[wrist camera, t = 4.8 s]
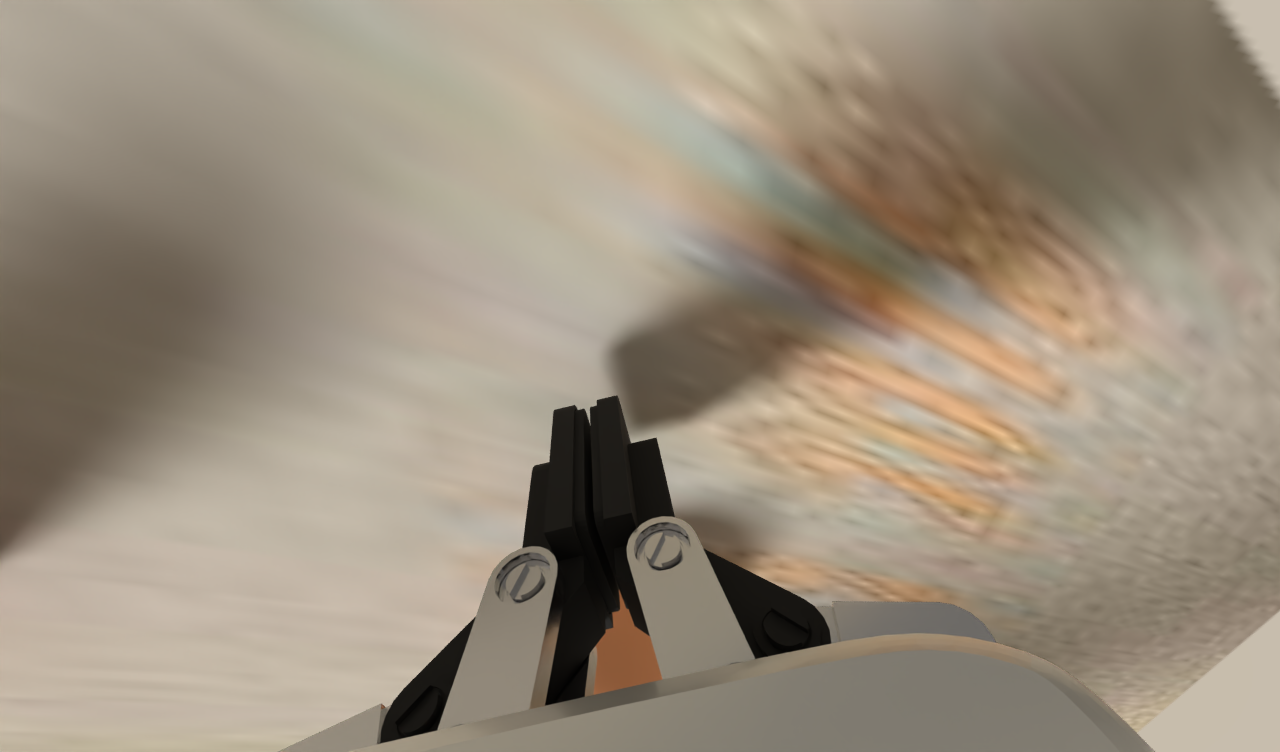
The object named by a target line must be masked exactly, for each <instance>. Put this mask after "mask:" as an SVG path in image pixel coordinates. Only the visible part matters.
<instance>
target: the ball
mask: <svg viewBox="0 0 1280 752" xmlns="http://www.w3.org/2000/svg"><path fill="white" fill-rule="evenodd" d="M619 597H620V611H616V612H612V613H613V628H611V629H606V633H605V634H604V636H603V637H602V638H601V640H600V641H599V642H598V643H597V645H596V648H597V667H596V676H595V685H594V695H596V694H600V693H604V692H609V691H613V690H618V689H622V688H627V687H631V686H636V685H640V684H645V683H649V682H654V681H658V680H663V679H662V676H661V672H660V669H659V665H658V662H657V659H656V655H655V652H654V648H653V645H652V641H651V638H650V636H648V635H647V634H645V633H644V632H642V631H641V630H640V629H638V628H637V627H635V626H634V623H633V620H632V617H631V615H630V612H629V609H626V606H625V604H624V601H623V598H622V596H621V593H620V590H619Z"/></svg>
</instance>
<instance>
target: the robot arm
mask: <svg viewBox="0 0 1280 752" xmlns="http://www.w3.org/2000/svg"><path fill="white" fill-rule="evenodd" d="M590 423H591V426H590ZM590 423H589V420H588V417H587V414H586V411H585V409H581V410H577V407H576V406H575V405H573V406H569V407H565V408H560V409H556V410H554V413H553V425H552V438H551V450H550V462H548V463H544V464H540V465H535V466H534V467H533V470H532V476H531V484H530V492H529V500H528V508H527V516H526V524H525V532H524V540H523V548H521V549H519V550H517V551H515V552H513V553H511V554H509V555H508V556H507V557H505V558H504V559H503V560H502V561H501V562H500V563H499V564H498V565H497V566H496V568H495V569H494V570H493V572H492V574H491V576H490V578H489V580H488V583H487V586H486V589H485V592H484V595H483V597H482V600H481V603H480V606H479V609H478V612H477V615H476V617H475V618H474V619H473V620H472V621H471V622H470V623H469V624H468V625H467V626H466V627H465V628H464V629H463V630H462V631H461V632H460V633H459V634H458V635H457V636H456V637H455V638H454V639H453V640H452V641H451V642H450V643H449V644H448V645H447V646H446V647H445V648H444V649H443V650H442V651H441V652H440V653H439V654H438V655H437V656H436V657H435V658H434V659H433V660H432V661H431V662H430V663H429V664H428V665H427V666H426V667H425V668H424V669H423V670H422V671H421V672H420V673H419V674H418V675H417V676H416V677H415V678H414V679H413V680H412V681H411V682H410V683H409V684H408V685H407V686H406V687H405V688H404V689H403V691H402V692H401V693H400V694H399V695H398V697H397V698H396V699H395V700H394V701H393V703H392V705H390V706H388V707H385V706H384V705H383V704H382V703H381V704H379V705H377V706H375V707H373V708H371V709H368V710H366V711H364V712H362V713H360V714H358V715H356V716H353V717H351V718H349V719H347V720H345V721H343V722H341V723H338V724H336V725H334V726H332V727H330V728H328V729H325V730H323V731H321V732H319V733H317V734H315V735H313V736H310V737H308V738H306V739H304V740H302V741H300V742H298V743H295V744H293V745H291V746H289V747H287V748H285V749H283V750H280V751H279V752H1155V751H1154V750H1153V749H1152V748H1151V747H1150V746H1149V745H1148V744H1147V743H1146V742H1145V741H1144V740H1143V739H1142V738H1141V737H1140V736H1139V735H1138V734H1137V733H1136V732H1135V731H1134V730H1133V729H1132V728H1131V727H1130V726H1129V725H1128V724H1127V723H1126V722H1125V721H1124V720H1123V719H1122V718H1121V717H1120V716H1119V715H1118V714H1117V713H1116V712H1115V711H1114V710H1113V709H1112V708H1110V707H1109V706H1108V705H1107V704H1106V703H1105V702H1104V701H1103V700H1102V699H1101V698H1099V697H1098V696H1097V695H1096V694H1095V693H1093V692H1092V691H1091V690H1090V689H1089V688H1088V687H1086V686H1085V685H1084V684H1083V683H1081V682H1080V681H1079V680H1078V679H1076V678H1075V677H1073V676H1072V675H1070V674H1069V673H1067V672H1066V671H1064V670H1063V669H1061V668H1060V667H1058V666H1056V665H1054V664H1053V663H1051V662H1049V661H1047V660H1045V659H1043V658H1040V657H1038V656H1035V655H1033V654H1030V653H1028V652H1025V651H1022V650H1019V649H1016V648H1012V647H1009V646H1006V645H1002V644H999V643H996V641H995V639H994V637H993V636H992V634H991V633H990V632H989V630H988V629H987V627H986V626H985V625H984V623H982V622H981V621H980V620H979V619H978V618H976V617H975V616H974V615H973V614H971V613H970V612H968V611H966V610H964V609H962V608H960V607H957V606H955V605H952V604H946V603H940V602H842V601H833V602H832V607H815V606H813V605H812V604H810V603H809V602H807V601H806V600H804V599H803V598H801V597H799V596H797V595H795V594H793V593H791V592H789V591H787V590H785V589H783V588H781V587H779V586H777V585H775V584H773V583H771V582H769V581H767V580H765V579H763V578H761V577H759V576H757V575H755V574H753V573H751V572H749V571H747V570H745V569H743V568H741V567H739V566H737V565H735V564H733V563H731V562H729V561H727V560H725V559H723V558H721V557H719V556H717V555H715V554H713V553H711V552H709V551H707V550H705V549H703V547H702V545H701V543H700V541H699V538H698V536H697V534H696V532H695V531H694V530H693V528H692V527H691V525H689V524H688V523H686V522H685V521H684V520H682V519H679V518H675V516H674V512H673V507H672V503H671V498H670V494H669V489H668V485H667V481H666V476H665V472H664V468H663V463H662V459H661V455H660V450H659V446H658V442H657V438H653V439H648V440H644V441H640V442H635V443H631V442H630V438H629V435H628V431H627V427H626V424H625V420H624V416H623V413H622V409H621V405H620V402H619V398H618V396H612V397H608V398H604V399H599V400H597V406H594V407H590ZM619 590H620V593H621V596H622V598H623V601H624V604H625V606H626V609H629V612H630V615H631V617H632V620H633V623H634V626H635V627H637V628H638V629H640V630H641V631H642V632H644V633H645V634H647V635H648V636H650V638H651V641H652V645H653V648H654V652H655V655H656V659H657V662H658V665H659V669H660V672H661V676H662V679H663V680H658V681H654V682H649V683H645V684H640V685H636V686H631V687H627V688H622V689H618V690H613V691H609V692H604V693H600V694H596V695H594V685H595V676H596V667H597V648H596V645H597V643H598V642H599V641H600V640H601V638H602V637H603V636H604V634H605V633H606V629H611V628H613V613H612V612H616V611H620V597H619Z"/></svg>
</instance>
